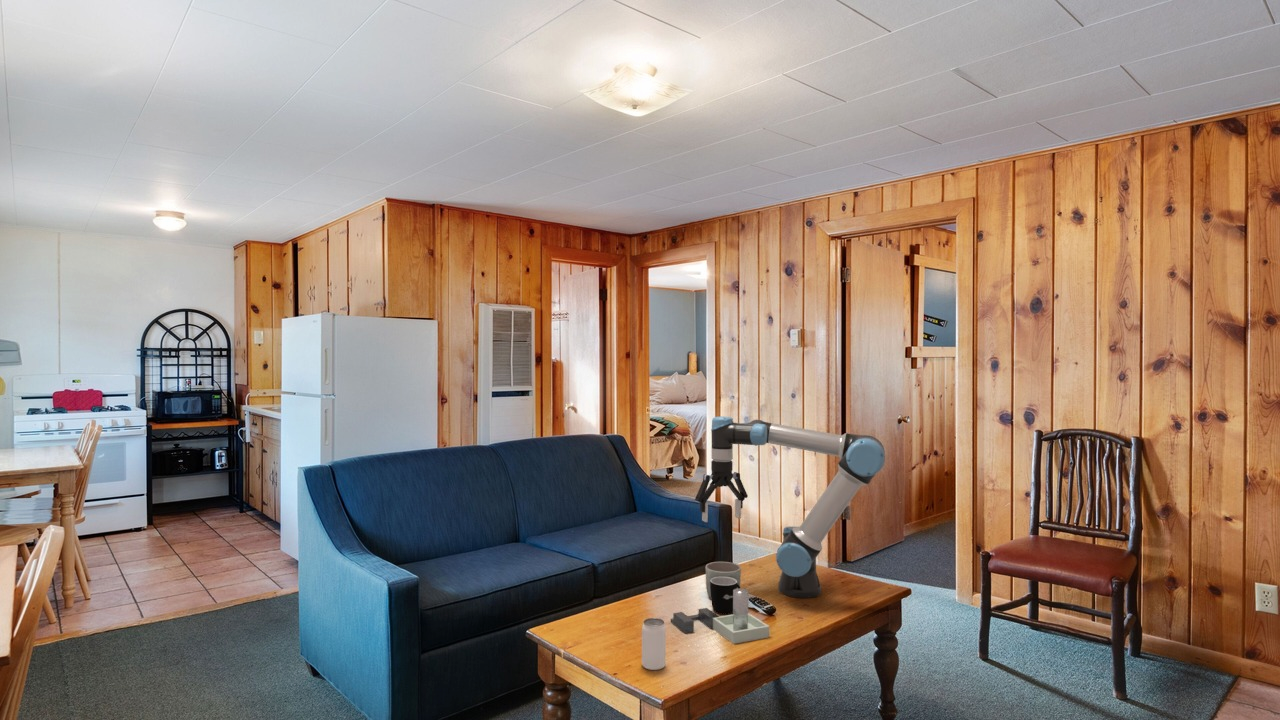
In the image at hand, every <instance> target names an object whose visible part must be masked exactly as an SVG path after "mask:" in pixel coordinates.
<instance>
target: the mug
mask: <svg viewBox="0 0 1280 720" xmlns="http://www.w3.org/2000/svg"><path fill="white" fill-rule="evenodd" d="M737 587H738V588H741V585H740V586H739V585H738V584H737V580H735V579H733V578H730V577H714V578H712V579H711V580H710V592H711V598H710V601H711V606H712V610H713V612H714V613H715V614H717V615H732V614H733V590H734V589H737Z"/></svg>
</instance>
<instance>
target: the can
mask: <svg viewBox="0 0 1280 720" xmlns="http://www.w3.org/2000/svg"><path fill="white" fill-rule="evenodd" d="M666 630H667V629H666V625H665V620H663V619H661V618H657V617H649V618H646V619H644V620H643V625H642V628H641V666H642V667H643V668H644V669H646V670H649V671H659V670H663V668H665V666H666V655H667V653H666V651H667V650H666V647H667V646H666V645H667V644H666V643H667V642H666V632H667V631H666Z"/></svg>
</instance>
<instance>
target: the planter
mask: <svg viewBox="0 0 1280 720" xmlns="http://www.w3.org/2000/svg"><path fill="white" fill-rule="evenodd" d="M741 573H742V567H741V565H739V564H737V563H734V562H729V561H713V562H709V563H707V564H706V565H705V587H706V593H707V596H708V597H709V598H710V599H711V592H710V580H711V579H712V578H714V577H730V578H733V579H735V580H737V584H738V585H739V586H740V587H741V577H742V574H741ZM737 589H738V587H737Z"/></svg>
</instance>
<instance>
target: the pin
mask: <svg viewBox="0 0 1280 720" xmlns="http://www.w3.org/2000/svg"><path fill="white" fill-rule="evenodd" d="M748 613H749V590H748V589H746V588H742V587H740V588H738V589H734V590H733V612H732V614H733V631H739V630H745V629H748Z"/></svg>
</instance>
